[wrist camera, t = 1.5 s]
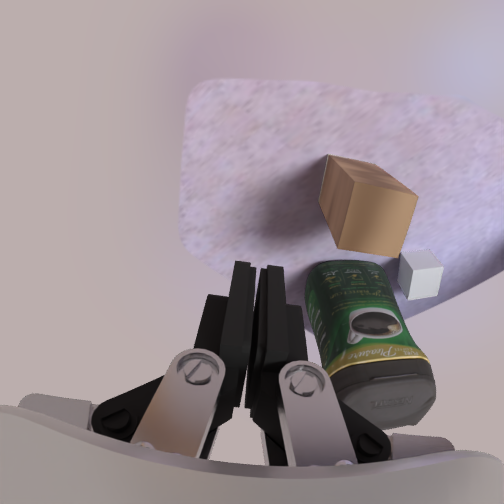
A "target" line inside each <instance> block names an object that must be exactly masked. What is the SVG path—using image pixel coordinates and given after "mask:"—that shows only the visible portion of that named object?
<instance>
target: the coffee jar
mask: <svg viewBox="0 0 504 504" xmlns="http://www.w3.org/2000/svg"><path fill="white" fill-rule="evenodd" d="M305 303H306V308H307V312H308V316H309V319H310V323H311V326H312V329H313V332H314V335H315V339H316V342H317V346H318V349H319V353H320V358H321V363H322V368H323V369H324V370H325V371H326V372H327V374H328V376H329V377H330V380H331V383H332V386H333V388H334V391H335V394H336V397H337V398H338V399H340V400H341V401H342V402H344V403H345V404H346V405H348V406H349V407H350V408H352V409H353V410H354V411H356V412H357V413H358V414H360V415H361V416H363V417H364V418H365V419H367V420H368V421H369V422H371V423H372V424H374V425H375V426H377V427H378V428H379V429H381V430H386V429H392V428H397V427H402V426H406V425H413V426H414V425H416V424H417V423H418V422H419V421H420V420H421V419H422V418H423V417H424V415H425V414H426V413H427V412H428V411H429V409H430V408H431V406H432V405H433V403H434V401H435V399H436V386H435V380H434V377H433V373H432V369H431V365H430V362H429V360H428V358H427V357H426V355H425V354H424V353H423V352H422V351H421V350H420V348H419V347H418V346H417V345H416V344H415V342H414V341H413V339H412V337H411V335H410V333H409V331H408V329H407V327H406V325H405V323H404V320H403V317H402V315H401V312H400V310H399V307H398V305H397V302H396V299H395V296H394V294H393V291H392V288H391V285H390V283H389V281H388V278H387V276H386V274H385V272H384V270H383V269H382V267H380V266H379V265H378V264H376V263H373V262H368V261H359V260H338V261H329V262H324V263H321V264H319V265H318V266H316V267H315V268H314V269H313V270H312V271H311V273H310V274H309V276H308V279H307V283H306V289H305Z"/></svg>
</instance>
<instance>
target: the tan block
mask: <svg viewBox="0 0 504 504" xmlns="http://www.w3.org/2000/svg"><path fill="white" fill-rule="evenodd" d="M417 200H418V196H417V195H416V194H415V193H413V192H412V191H411V190H410V189H408V188H407V187H406V186H404V185H403V184H402V183H400V182H399V181H398V180H396V179H395V178H394V177H392V176H391V175H390V174H388V173H387V172H385V171H384V170H383V169H381V168H380V167H378V166H377V165H376V164H372V163H368V162H363V161H359V160H355V159H350V158H346V157H341V156H336V155H331V154H328V156H327V161H326V166H325V171H324V176H323V181H322V186H321V191H320V195H319V200H318V203H319V205H320V207H321V210H322V212H323V214H324V217H325V219H326V222H327V224H328V226H329V229H330V231H331V234H332V236H333V239H334V241H335V244H336V246H337V249H343V250H349V251H356V252H362V253H369V254H375V255H382V256H388V257H394V258H398V256H399V254H400V251H401V248H402V245H403V243H404V240H405V237H406V234H407V231H408V228H409V225H410V222H411V219H412V216H413V213H414V210H415V206H416V203H417Z"/></svg>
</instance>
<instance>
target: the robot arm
mask: <svg viewBox="0 0 504 504" xmlns="http://www.w3.org/2000/svg"><path fill="white" fill-rule="evenodd" d="M250 265H251V263H250V262H242V261H235V265H234V270H233V276H232V281H231V287H230V292H229V297H226V296H219V295H211V294H208V296H207V300H206V303H205V307H204V311H203V315H202V318H201V322H200V325H199V329H198V333H197V337H196V341H195V344H194V348H193V349H189V350H186V351H183V352H181V353H179V354H178V355H177V356H176V357H175V358H174V360H173V361H172V362H171V365H170V366H169V368H168V370H167V372H166V374H165V375H164V376H161V377H159V378H157V379H155V380H153V381H151V382H148V383H146V384H144V385H142V386H139V387H137V388H135V389H132V390H130V391H128V392H126V393H123V394H121V395H119V396H116V397H114V398H112V399H109V400H107V401H105V402H103V403H101V404H100V405H95V404H92V403H91V401H85V400H77V399H69V398H62V397H55V396H49V395H43V394H30V395H27V396H25V397H24V398H23V399H22V400H21V401H20V403H19V405H18V407H15V406H8V405H0V504H504V464H503V463H502V461H501V460H500V459H498V458H497V457H495V456H493V455H490V454H487V453H483V452H478V451H469V450H456V451H455V449H454V446H453V445H452V443H451V442H450V441H448V440H447V439H446V438H442V437H431V436H417V435H406V434H397V433H393V434H392V435H391V436H389V435H386V434H385V433H384V432H383V431H382V430H381V429H379V428H378V427H377V426H375V425H374V424H372V423H371V422H369V421H368V420H367V419H365V418H364V417H363V416H361V415H360V414H358V413H357V412H356V411H354V410H353V409H352V408H350V407H349V406H348V405H346V404H345V403H344V402H342V401H341V400H340V399H338V398H337V397H336V394H335V391H334V388H333V386H332V383H331V380H330V377H329V376H328V374H327V372H326V371H325V370H324V369H323V368H322V367H320V366H319V365H317V364H315V363H312V362H309V361H308V355H307V346H306V338H305V330H304V322H303V314H302V308H301V306H298V305H289V304H286V297H285V283H284V270H283V267H280V266H272V265H267V269H264V268H261V271H260V277H259V283H258V288H257V294H256V300H255V306H254V295H255V280H256V267H250ZM253 309H254V312H253ZM247 365H248V368H247ZM246 370H247V381H246V394H245V408H249V409H251V410H250V417H251V418H253V421H254V422H255V423H256V424H257V425H258V426H259V427H260V428H261V439H262V447H263V453H264V460H265V466H262V465H249V464H248V465H247V464H238V463H228V462H220V461H213V460H209V458H210V455H211V452H212V449H213V446H214V443H215V440H216V437H217V434H218V431H219V426H220V425H222V424H223V423H225V422H227V421H228V420H230V419H231V418H232V413H233V408H234V407H240V402H241V397H242V391H243V386H244V381H245V376H246Z"/></svg>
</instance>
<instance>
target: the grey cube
mask: <svg viewBox="0 0 504 504" xmlns="http://www.w3.org/2000/svg"><path fill="white" fill-rule="evenodd" d="M443 268H444V266H443V265H442V263H441V262H440V261H439V260H438V259H437V257H436V256H435V255H434V254H433V253H432V251H431V250H430V249H427V250H418V251H409V252H401V255H400V263H399V271H398V278H397V282H398V284H399V285H400V287H401V289H402V291H403V293H404V294H405V296H406V298H407V300H415V299H421V298H427V297H434V296H437V295H438V291H439V286H440V282H441V278H442V273H443Z"/></svg>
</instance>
